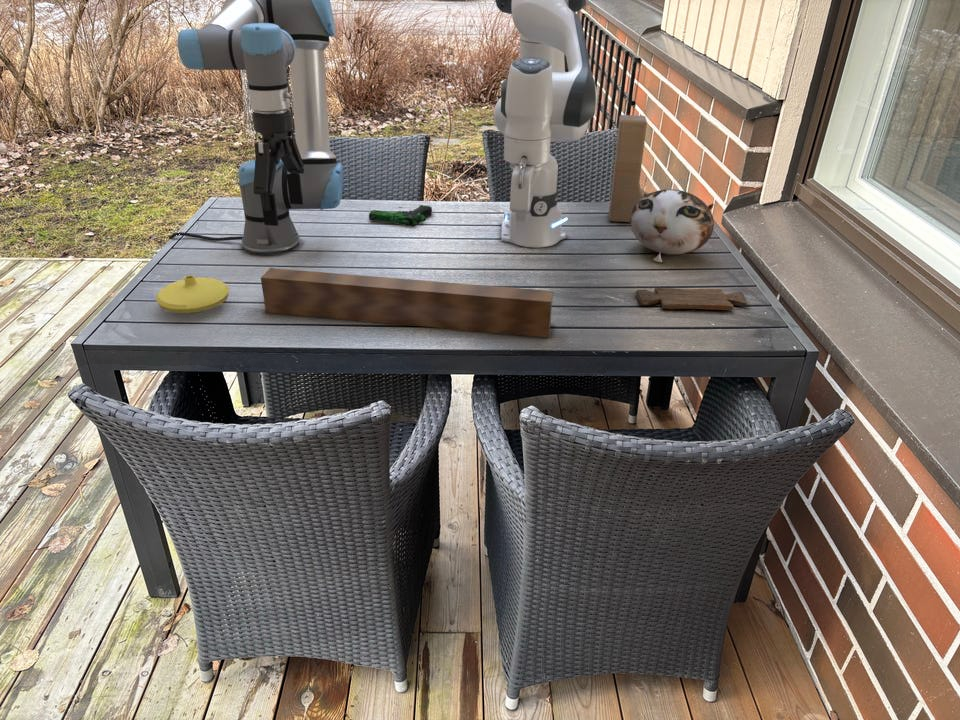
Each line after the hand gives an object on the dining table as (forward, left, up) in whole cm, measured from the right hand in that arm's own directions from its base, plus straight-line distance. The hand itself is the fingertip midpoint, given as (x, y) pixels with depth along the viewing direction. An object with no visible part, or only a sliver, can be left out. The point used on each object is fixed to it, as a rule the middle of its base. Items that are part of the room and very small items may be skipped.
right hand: (523, 219), depth 144 cm
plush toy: (-38, +49, -25) cm, 67 cm away
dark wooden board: (-8, +44, -25) cm, 51 cm away
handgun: (-74, -21, -25) cm, 81 cm away
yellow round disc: (-21, -72, -25) cm, 79 cm away
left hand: (-16, -48, -2) cm, 51 cm away
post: (-8, -24, -25) cm, 36 cm away
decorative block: (-65, +49, -25) cm, 86 cm away
